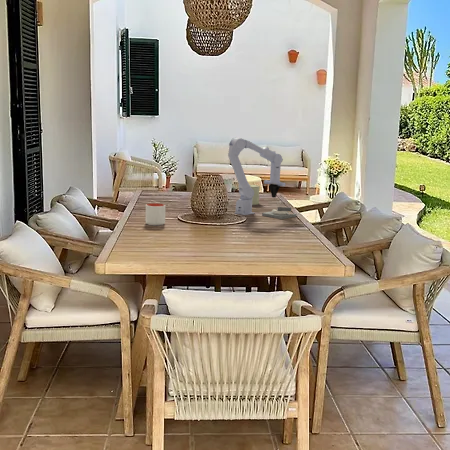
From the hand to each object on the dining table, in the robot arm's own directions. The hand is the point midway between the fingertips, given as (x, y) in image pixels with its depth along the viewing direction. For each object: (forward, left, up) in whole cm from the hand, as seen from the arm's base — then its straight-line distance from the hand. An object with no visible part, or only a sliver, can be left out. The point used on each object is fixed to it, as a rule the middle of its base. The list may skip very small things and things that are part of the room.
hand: (273, 197), depth 356 cm
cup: (-78, +15, -10) cm, 80 cm away
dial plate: (-5, -9, -9) cm, 14 cm away
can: (+17, +30, -10) cm, 36 cm away
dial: (-5, -9, -8) cm, 13 cm away
